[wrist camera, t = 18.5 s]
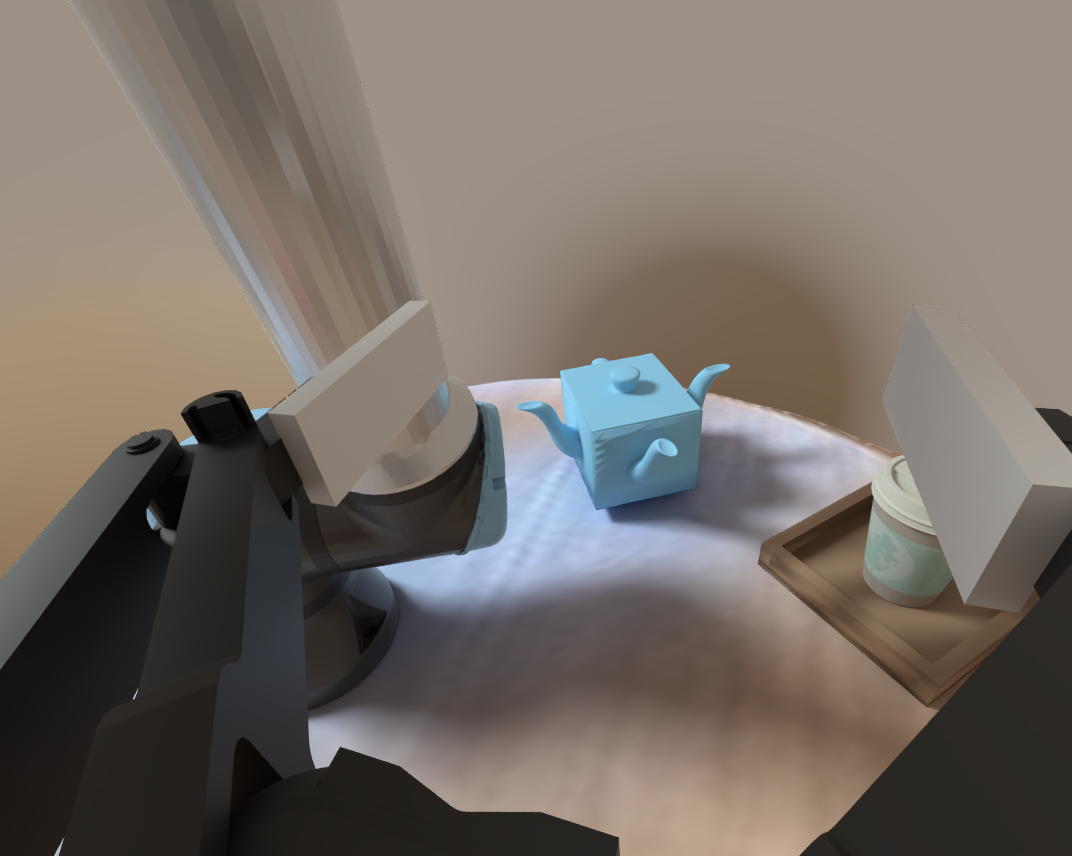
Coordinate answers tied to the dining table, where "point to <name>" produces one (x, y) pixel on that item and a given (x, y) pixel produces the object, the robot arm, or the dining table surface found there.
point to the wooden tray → (883, 602)
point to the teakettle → (629, 427)
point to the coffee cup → (902, 542)
